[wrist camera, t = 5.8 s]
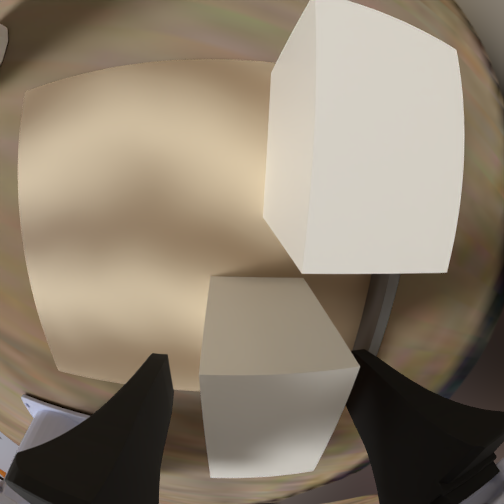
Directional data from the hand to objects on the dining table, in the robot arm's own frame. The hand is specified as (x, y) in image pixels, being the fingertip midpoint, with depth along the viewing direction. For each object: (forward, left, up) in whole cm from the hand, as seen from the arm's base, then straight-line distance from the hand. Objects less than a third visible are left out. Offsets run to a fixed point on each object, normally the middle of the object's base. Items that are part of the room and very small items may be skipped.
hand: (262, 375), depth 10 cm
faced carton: (+8, -2, -3) cm, 9 cm away
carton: (0, 0, -3) cm, 3 cm away
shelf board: (+4, +3, -4) cm, 6 cm away
